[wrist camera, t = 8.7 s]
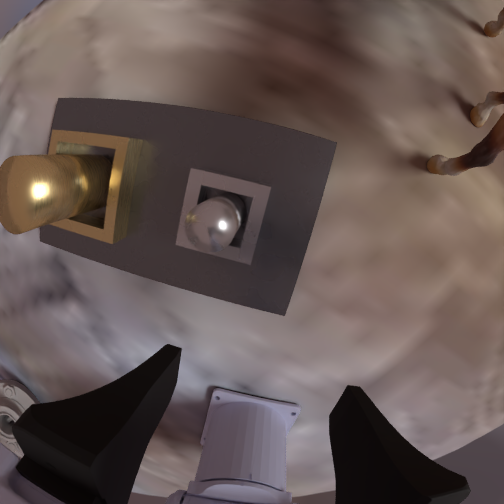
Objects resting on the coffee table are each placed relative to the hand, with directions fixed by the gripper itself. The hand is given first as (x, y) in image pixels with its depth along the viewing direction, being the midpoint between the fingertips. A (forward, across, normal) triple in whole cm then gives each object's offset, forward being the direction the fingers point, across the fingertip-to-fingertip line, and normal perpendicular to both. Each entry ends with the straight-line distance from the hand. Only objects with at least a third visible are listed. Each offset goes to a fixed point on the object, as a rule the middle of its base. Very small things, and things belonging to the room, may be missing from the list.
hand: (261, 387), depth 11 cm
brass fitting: (+9, +14, -5) cm, 17 cm away
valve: (+10, +32, +32) cm, 46 cm away
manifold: (+10, +9, -5) cm, 14 cm away
